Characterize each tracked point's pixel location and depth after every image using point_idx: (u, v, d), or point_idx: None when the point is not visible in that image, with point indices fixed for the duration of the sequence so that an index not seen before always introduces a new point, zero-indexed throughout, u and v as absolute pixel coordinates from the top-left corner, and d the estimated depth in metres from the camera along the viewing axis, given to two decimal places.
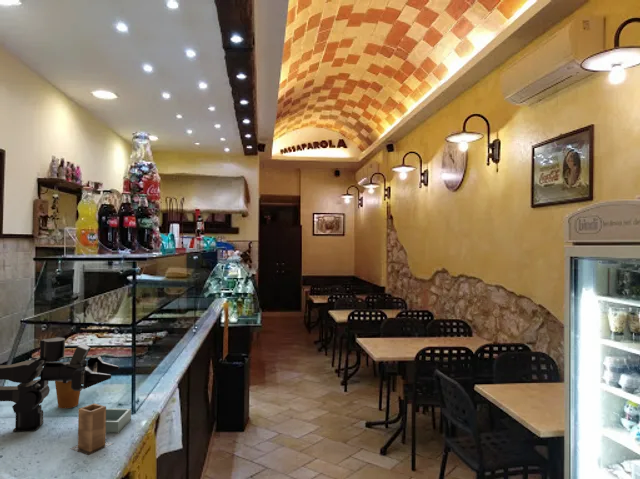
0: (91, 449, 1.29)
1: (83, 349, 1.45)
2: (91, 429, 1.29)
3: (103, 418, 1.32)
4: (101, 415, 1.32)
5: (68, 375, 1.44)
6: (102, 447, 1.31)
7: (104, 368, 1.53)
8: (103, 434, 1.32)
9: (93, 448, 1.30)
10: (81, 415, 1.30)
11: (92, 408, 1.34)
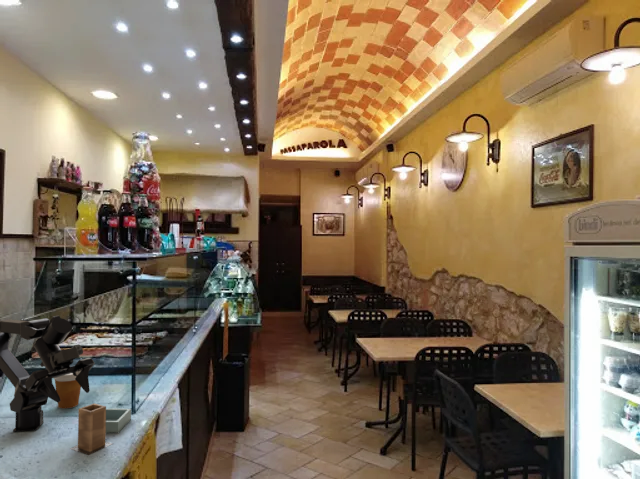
0: (91, 449, 1.29)
1: (66, 356, 1.34)
2: (91, 429, 1.29)
3: (103, 418, 1.32)
4: (101, 415, 1.32)
5: (44, 363, 1.37)
6: (102, 447, 1.31)
7: (81, 380, 1.41)
8: (103, 434, 1.32)
9: (93, 448, 1.30)
10: (81, 415, 1.30)
11: (92, 408, 1.34)
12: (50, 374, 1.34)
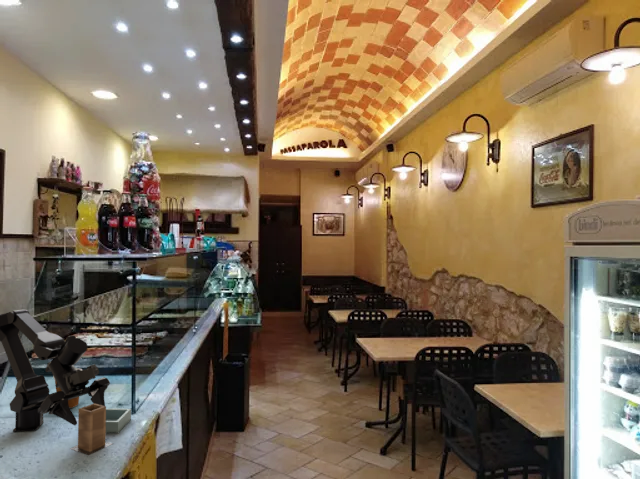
0: (91, 449, 1.29)
1: (82, 377, 1.31)
2: (91, 429, 1.29)
3: (103, 418, 1.32)
4: (101, 415, 1.32)
5: (60, 384, 1.34)
6: (102, 447, 1.31)
7: (97, 400, 1.38)
8: (103, 434, 1.32)
9: (93, 448, 1.30)
10: (81, 415, 1.30)
11: (92, 408, 1.34)
12: (66, 396, 1.31)
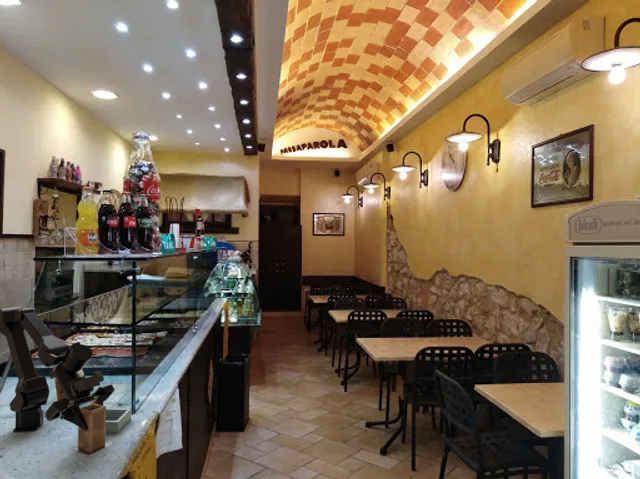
0: (91, 449, 1.29)
1: (87, 385, 1.30)
2: (91, 429, 1.29)
3: (103, 418, 1.32)
4: (101, 415, 1.32)
5: (64, 391, 1.33)
6: (102, 447, 1.31)
7: None
8: (103, 434, 1.32)
9: (93, 448, 1.30)
10: None
11: (92, 408, 1.34)
12: None
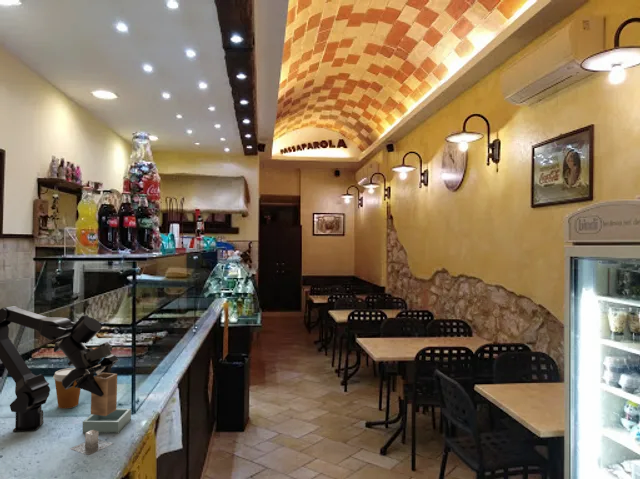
0: (106, 413, 1.37)
1: (101, 354, 1.37)
2: (107, 395, 1.37)
3: (115, 385, 1.41)
4: (114, 382, 1.40)
5: (74, 362, 1.38)
6: (102, 447, 1.31)
7: None
8: (115, 400, 1.41)
9: (108, 413, 1.38)
10: None
11: (102, 377, 1.41)
12: None
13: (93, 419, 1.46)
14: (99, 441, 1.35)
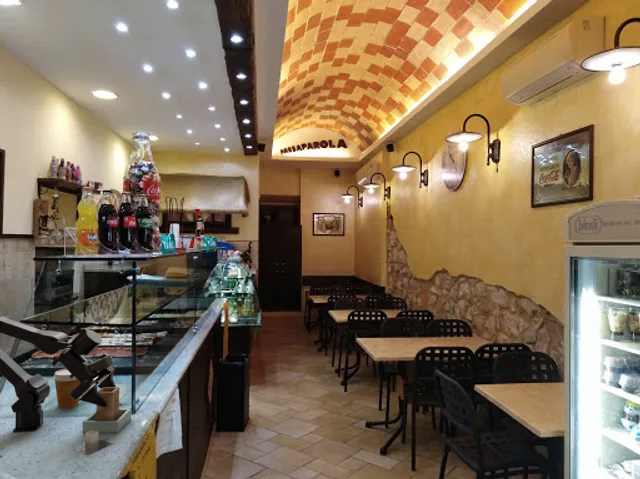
0: None
1: (106, 364, 1.44)
2: (113, 408, 1.44)
3: (118, 398, 1.48)
4: (117, 395, 1.47)
5: (77, 374, 1.43)
6: (102, 447, 1.31)
7: (108, 386, 1.50)
8: (118, 412, 1.48)
9: None
10: None
11: (104, 391, 1.47)
12: None
13: (93, 419, 1.46)
14: (99, 441, 1.35)
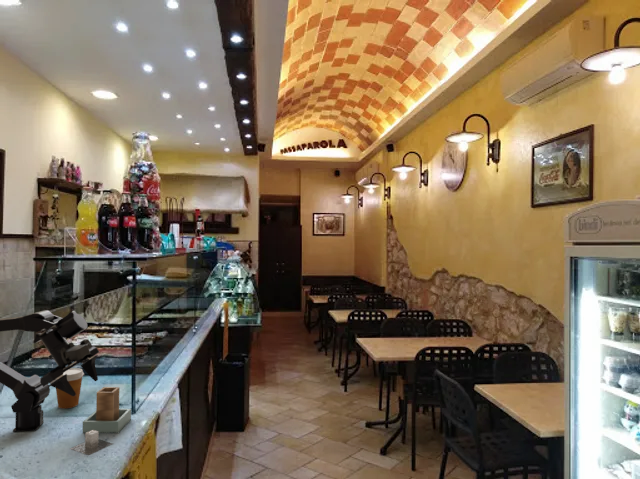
0: None
1: (79, 355, 1.41)
2: (113, 408, 1.44)
3: (118, 398, 1.48)
4: (117, 395, 1.47)
5: (54, 357, 1.43)
6: (102, 447, 1.31)
7: (89, 368, 1.50)
8: (118, 412, 1.48)
9: None
10: (100, 397, 1.43)
11: (104, 391, 1.47)
12: (63, 370, 1.41)
13: (93, 419, 1.46)
14: (99, 441, 1.35)
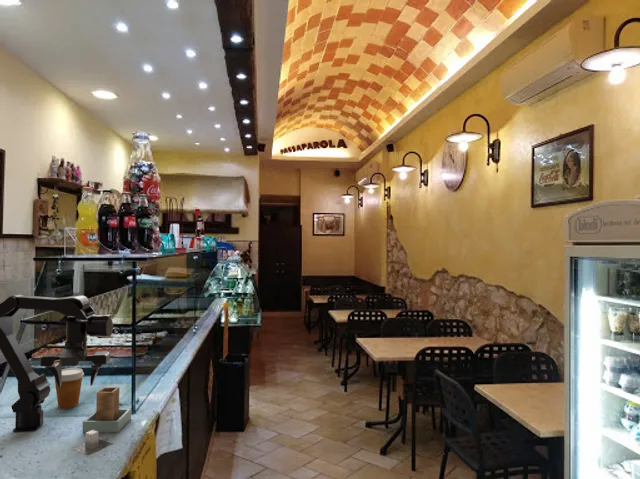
0: None
1: (61, 363, 1.38)
2: (113, 408, 1.44)
3: (118, 398, 1.48)
4: (117, 395, 1.47)
5: None
6: (102, 447, 1.31)
7: None
8: (118, 412, 1.48)
9: None
10: (100, 397, 1.43)
11: (104, 391, 1.47)
12: None
13: (93, 419, 1.46)
14: (99, 441, 1.35)
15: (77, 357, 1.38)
